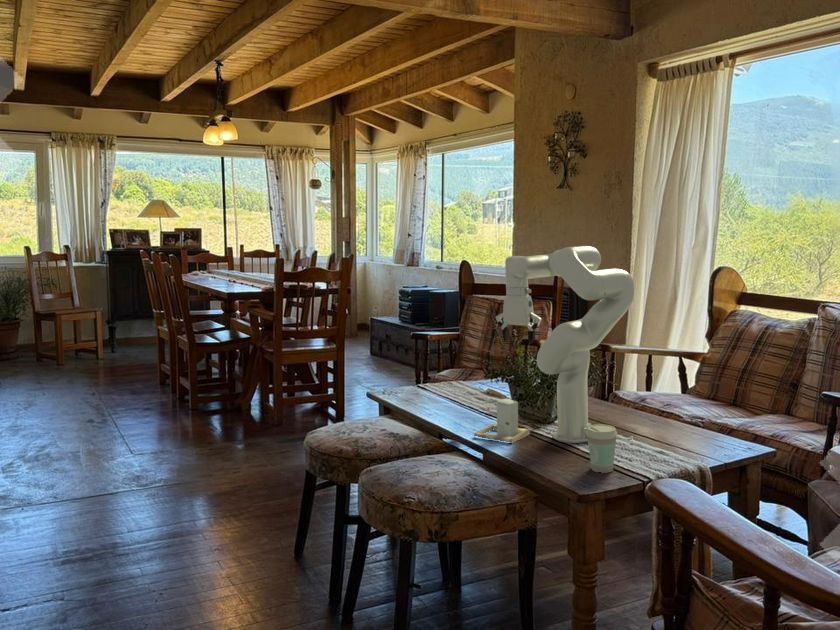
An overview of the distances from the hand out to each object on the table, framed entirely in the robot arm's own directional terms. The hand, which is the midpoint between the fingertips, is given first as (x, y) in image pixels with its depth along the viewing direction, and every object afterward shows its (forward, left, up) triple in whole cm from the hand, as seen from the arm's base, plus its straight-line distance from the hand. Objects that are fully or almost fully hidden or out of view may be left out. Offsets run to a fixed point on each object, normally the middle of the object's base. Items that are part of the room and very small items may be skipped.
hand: (518, 341), depth 250 cm
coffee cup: (-43, +33, -28) cm, 61 cm away
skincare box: (-5, +19, -28) cm, 35 cm away
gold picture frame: (-3, +19, -28) cm, 34 cm away
